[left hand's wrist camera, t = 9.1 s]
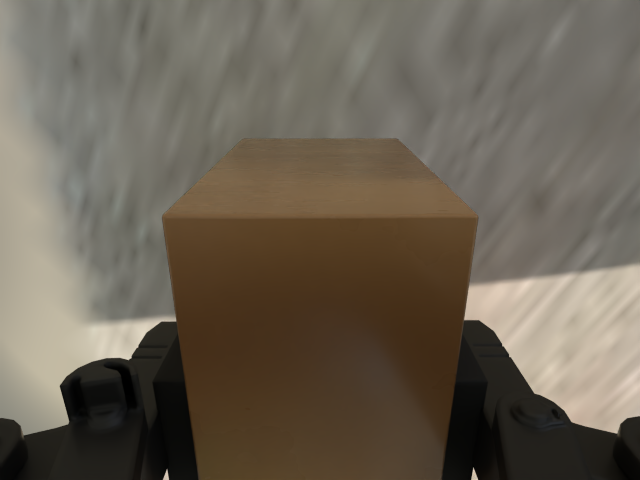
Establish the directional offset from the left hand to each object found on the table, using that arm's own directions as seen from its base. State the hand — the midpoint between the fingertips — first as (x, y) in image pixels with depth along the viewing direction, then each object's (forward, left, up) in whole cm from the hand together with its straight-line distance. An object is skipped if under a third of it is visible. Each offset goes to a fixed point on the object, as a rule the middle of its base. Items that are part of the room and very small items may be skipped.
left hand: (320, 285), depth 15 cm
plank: (+19, +14, -1) cm, 24 cm away
